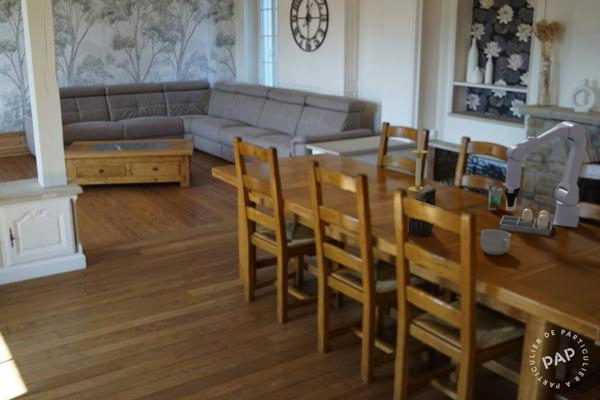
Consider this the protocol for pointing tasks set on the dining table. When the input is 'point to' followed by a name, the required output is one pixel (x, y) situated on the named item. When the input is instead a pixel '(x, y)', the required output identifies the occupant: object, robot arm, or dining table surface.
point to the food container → (494, 197)
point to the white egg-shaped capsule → (511, 207)
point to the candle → (418, 159)
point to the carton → (523, 226)
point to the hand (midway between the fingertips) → (511, 205)
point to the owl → (420, 226)
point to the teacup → (495, 241)
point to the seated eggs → (542, 218)
